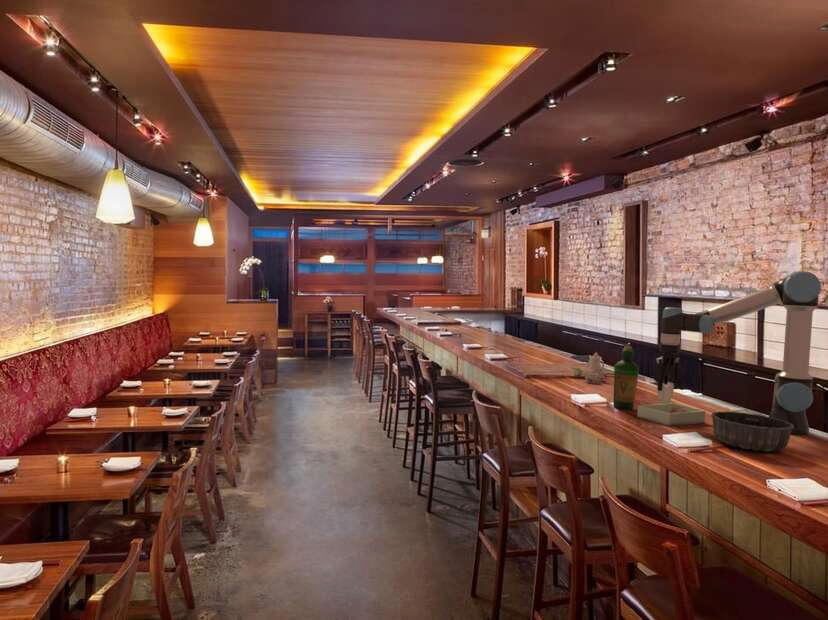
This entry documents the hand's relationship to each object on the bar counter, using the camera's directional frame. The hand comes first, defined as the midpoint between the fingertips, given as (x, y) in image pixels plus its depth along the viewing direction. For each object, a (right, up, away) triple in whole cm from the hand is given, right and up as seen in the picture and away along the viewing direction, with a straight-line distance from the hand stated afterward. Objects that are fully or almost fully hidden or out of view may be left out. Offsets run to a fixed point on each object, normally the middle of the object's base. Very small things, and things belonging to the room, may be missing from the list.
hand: (664, 397), depth 260 cm
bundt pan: (+15, -12, -38) cm, 43 cm away
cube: (+3, -8, -6) cm, 10 cm away
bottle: (-12, -7, +16) cm, 21 cm away
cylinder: (0, -2, 0) cm, 2 cm away
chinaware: (-5, -3, +93) cm, 93 cm away
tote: (+1, -9, -3) cm, 9 cm away
